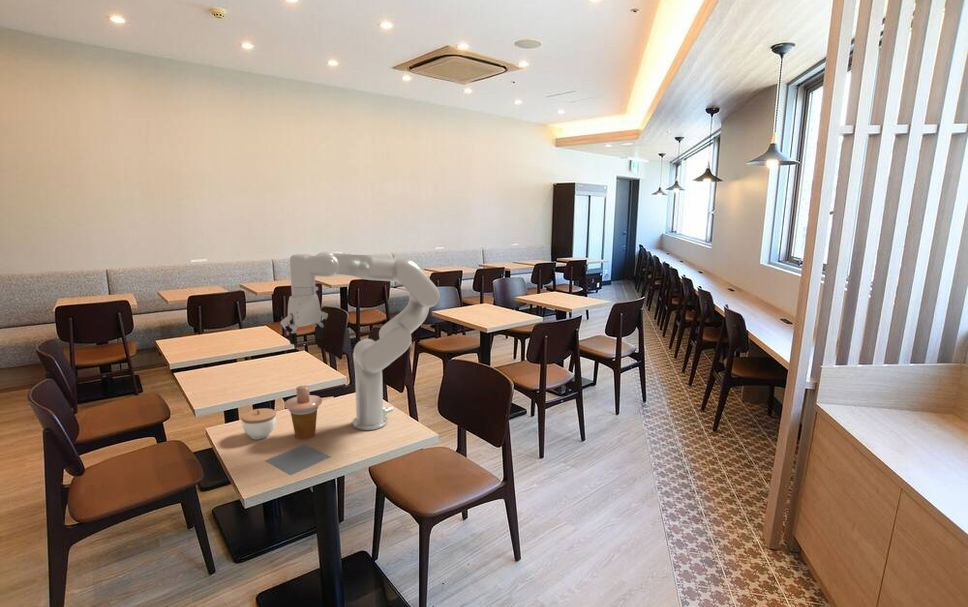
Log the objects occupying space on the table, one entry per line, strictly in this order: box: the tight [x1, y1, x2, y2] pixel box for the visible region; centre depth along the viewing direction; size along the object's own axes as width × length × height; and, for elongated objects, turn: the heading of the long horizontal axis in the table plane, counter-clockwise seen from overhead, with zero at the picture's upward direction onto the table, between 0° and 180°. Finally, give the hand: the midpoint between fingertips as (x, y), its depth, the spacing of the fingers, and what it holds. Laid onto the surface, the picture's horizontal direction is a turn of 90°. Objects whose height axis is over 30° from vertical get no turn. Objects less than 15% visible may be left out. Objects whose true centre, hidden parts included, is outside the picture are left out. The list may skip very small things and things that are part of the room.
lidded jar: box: [241, 407, 277, 440], centre depth 168 cm, size 11×11×9 cm
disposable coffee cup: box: [288, 406, 319, 440], centre depth 168 cm, size 10×10×12 cm
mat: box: [264, 443, 331, 476], centre depth 152 cm, size 14×14×1 cm
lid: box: [284, 385, 323, 411], centre depth 166 cm, size 12×12×6 cm
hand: (306, 341), depth 166 cm, fingers open, 9 cm apart
